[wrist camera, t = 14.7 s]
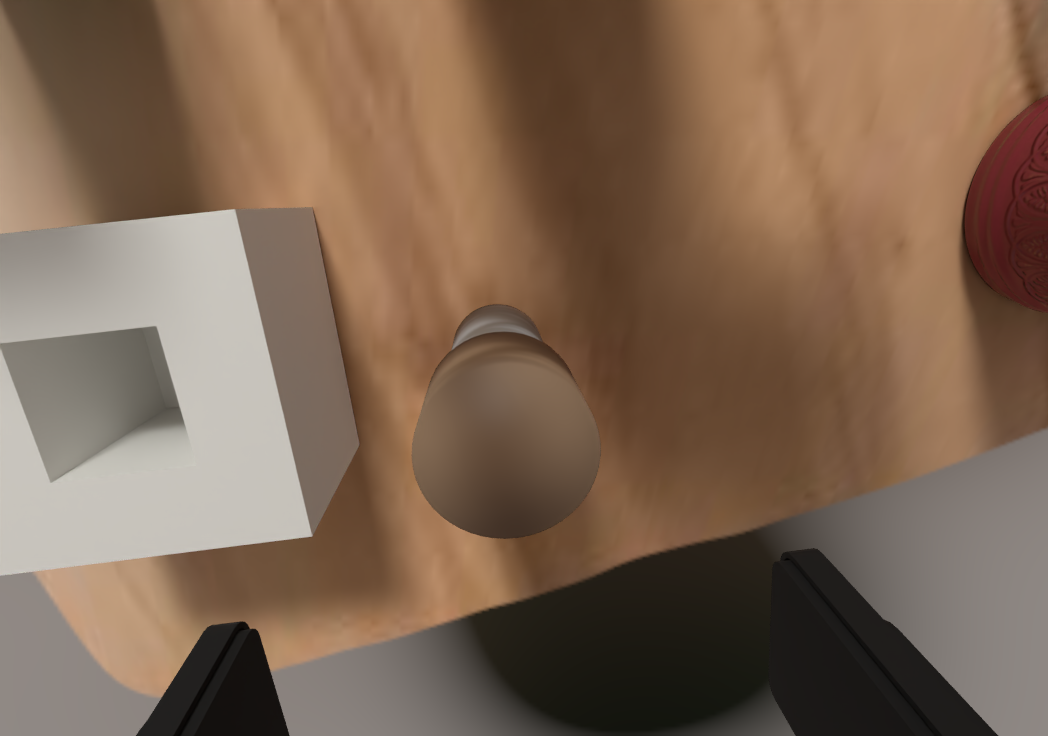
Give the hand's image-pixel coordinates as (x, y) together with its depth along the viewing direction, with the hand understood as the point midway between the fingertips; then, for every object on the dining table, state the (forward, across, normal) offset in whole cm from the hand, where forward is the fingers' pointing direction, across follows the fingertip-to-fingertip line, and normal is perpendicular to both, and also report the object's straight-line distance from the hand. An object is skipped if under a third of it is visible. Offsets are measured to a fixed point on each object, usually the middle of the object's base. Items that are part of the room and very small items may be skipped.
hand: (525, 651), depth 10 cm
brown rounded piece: (+24, 0, +1) cm, 24 cm away
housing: (+24, +16, -1) cm, 29 cm away
